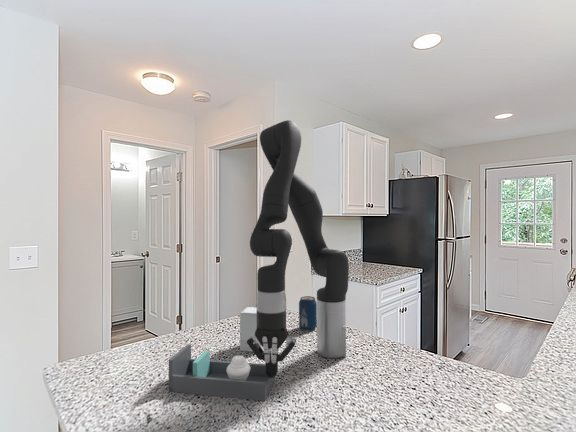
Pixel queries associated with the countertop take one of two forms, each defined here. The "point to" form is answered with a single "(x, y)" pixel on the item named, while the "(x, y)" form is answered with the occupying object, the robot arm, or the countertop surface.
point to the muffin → (238, 368)
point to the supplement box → (247, 327)
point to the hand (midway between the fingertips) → (271, 376)
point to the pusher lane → (216, 379)
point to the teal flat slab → (202, 364)
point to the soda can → (307, 313)
